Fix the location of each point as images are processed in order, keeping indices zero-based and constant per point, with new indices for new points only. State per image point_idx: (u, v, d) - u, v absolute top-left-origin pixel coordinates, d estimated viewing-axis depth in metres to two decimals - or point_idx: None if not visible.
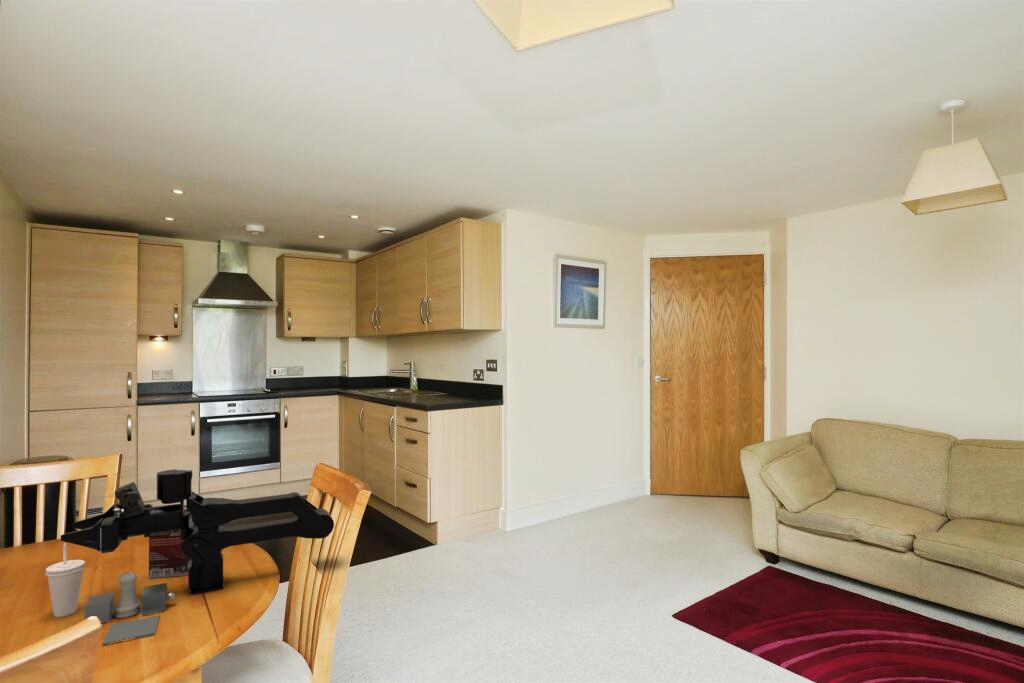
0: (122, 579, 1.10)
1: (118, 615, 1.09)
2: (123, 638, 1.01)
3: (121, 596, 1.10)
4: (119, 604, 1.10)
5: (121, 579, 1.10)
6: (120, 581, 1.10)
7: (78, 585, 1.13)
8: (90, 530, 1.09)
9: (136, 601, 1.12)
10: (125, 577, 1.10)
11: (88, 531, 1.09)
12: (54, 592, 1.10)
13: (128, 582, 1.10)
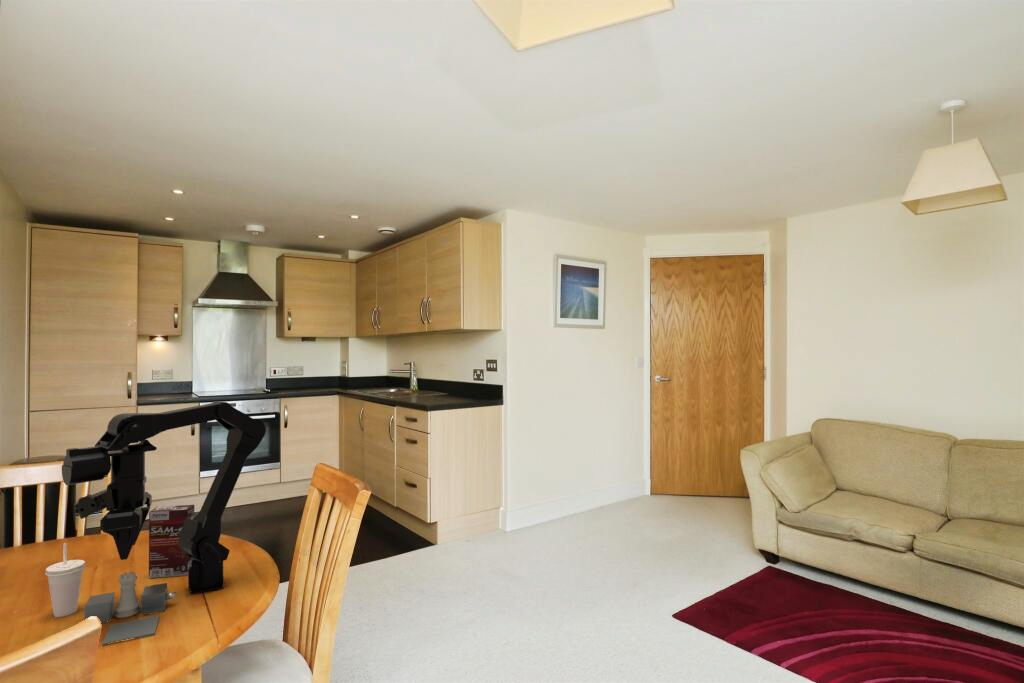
0: (122, 579, 1.10)
1: (118, 615, 1.09)
2: (123, 638, 1.01)
3: (121, 596, 1.10)
4: (119, 604, 1.10)
5: (121, 579, 1.10)
6: (120, 581, 1.10)
7: (78, 585, 1.13)
8: (115, 536, 1.05)
9: (136, 601, 1.12)
10: (125, 577, 1.10)
11: (116, 538, 1.06)
12: (54, 592, 1.10)
13: (128, 582, 1.10)
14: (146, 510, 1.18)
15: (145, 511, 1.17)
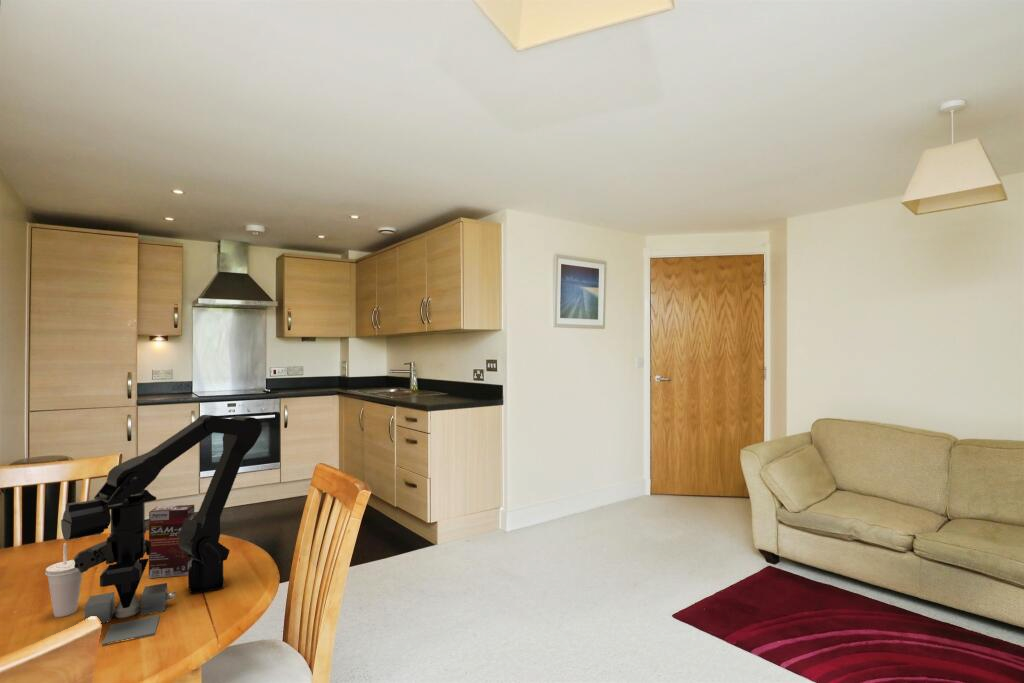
0: None
1: (118, 615, 1.09)
2: (123, 638, 1.01)
3: None
4: (119, 604, 1.10)
5: None
6: None
7: (78, 585, 1.13)
8: (117, 586, 1.08)
9: (136, 601, 1.12)
10: None
11: (119, 587, 1.08)
12: (54, 592, 1.10)
13: None
14: (144, 563, 1.15)
15: (143, 564, 1.15)
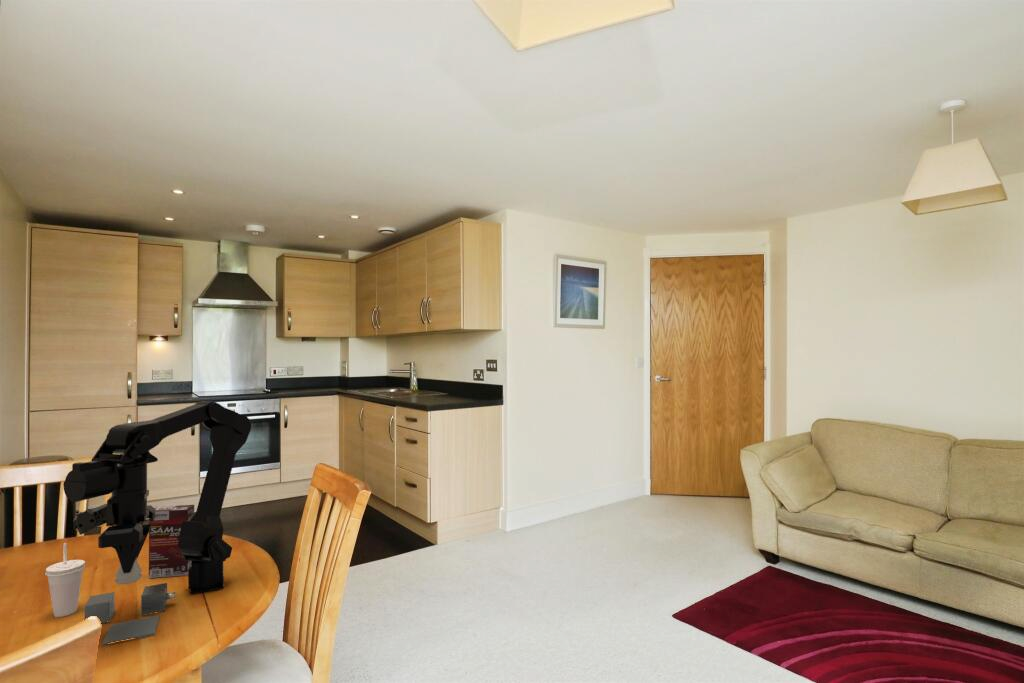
0: None
1: (118, 581, 1.05)
2: (123, 638, 1.01)
3: None
4: (119, 570, 1.05)
5: None
6: None
7: (78, 585, 1.13)
8: (118, 549, 1.03)
9: (138, 568, 1.07)
10: None
11: (119, 551, 1.03)
12: (54, 592, 1.10)
13: None
14: (147, 528, 1.10)
15: (145, 529, 1.10)
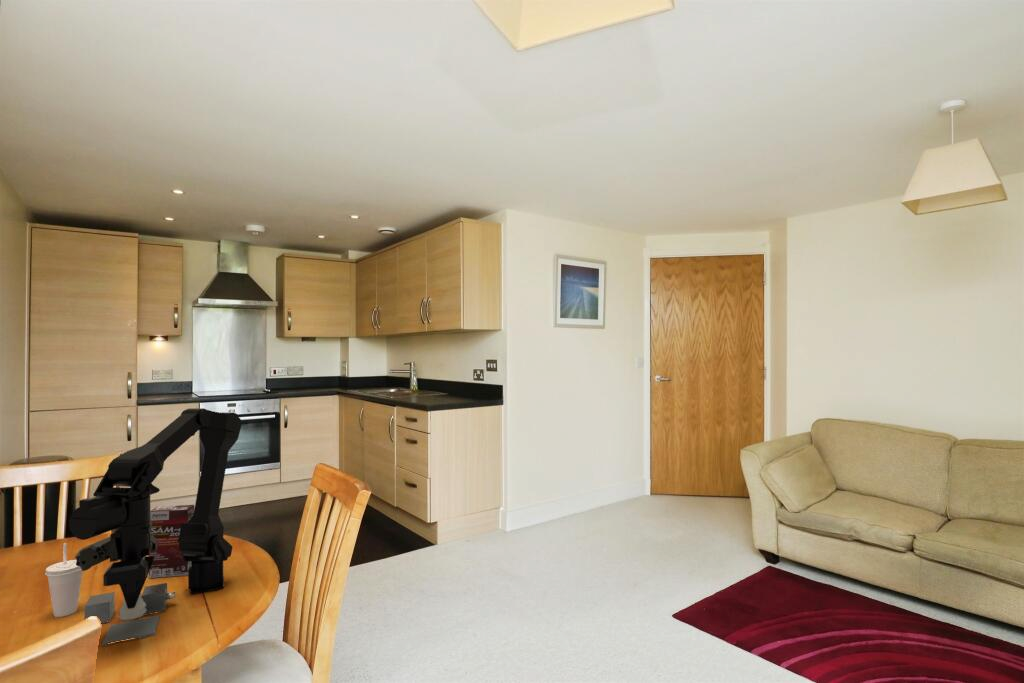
0: None
1: (122, 617, 1.02)
2: (123, 638, 1.01)
3: None
4: (123, 605, 1.03)
5: None
6: None
7: (78, 585, 1.13)
8: (122, 585, 1.01)
9: (142, 602, 1.05)
10: None
11: (123, 587, 1.01)
12: (54, 592, 1.10)
13: None
14: (150, 561, 1.08)
15: (149, 562, 1.08)
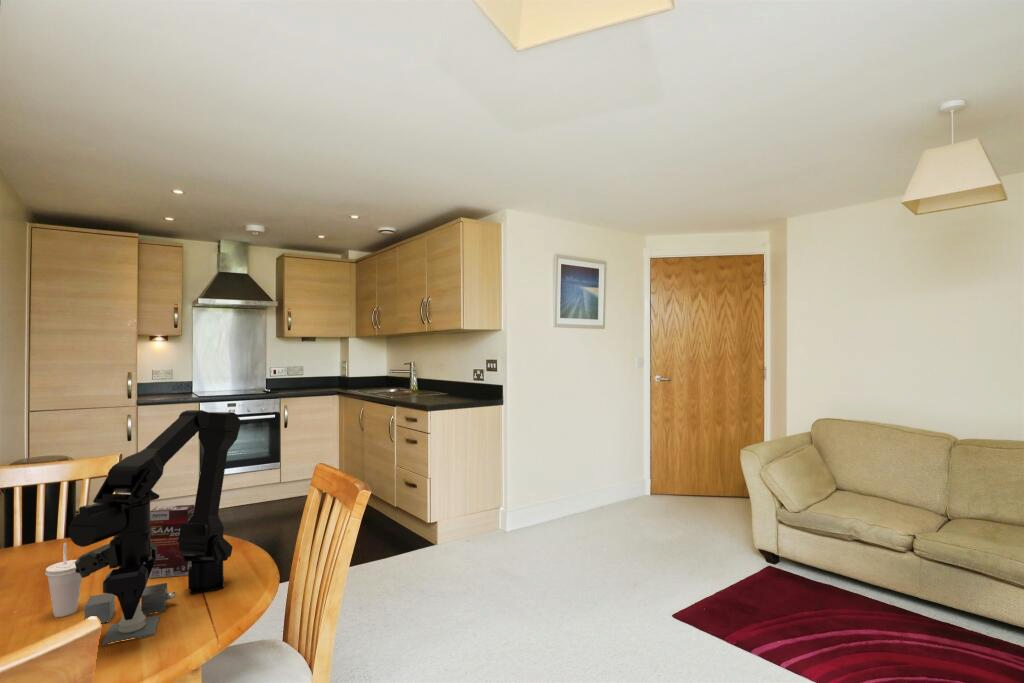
0: None
1: (122, 630, 1.02)
2: (123, 638, 1.01)
3: None
4: (123, 618, 1.03)
5: None
6: None
7: (78, 585, 1.13)
8: (119, 596, 0.99)
9: (141, 615, 1.05)
10: None
11: (121, 598, 0.99)
12: (54, 592, 1.10)
13: None
14: (151, 564, 1.10)
15: (150, 565, 1.09)
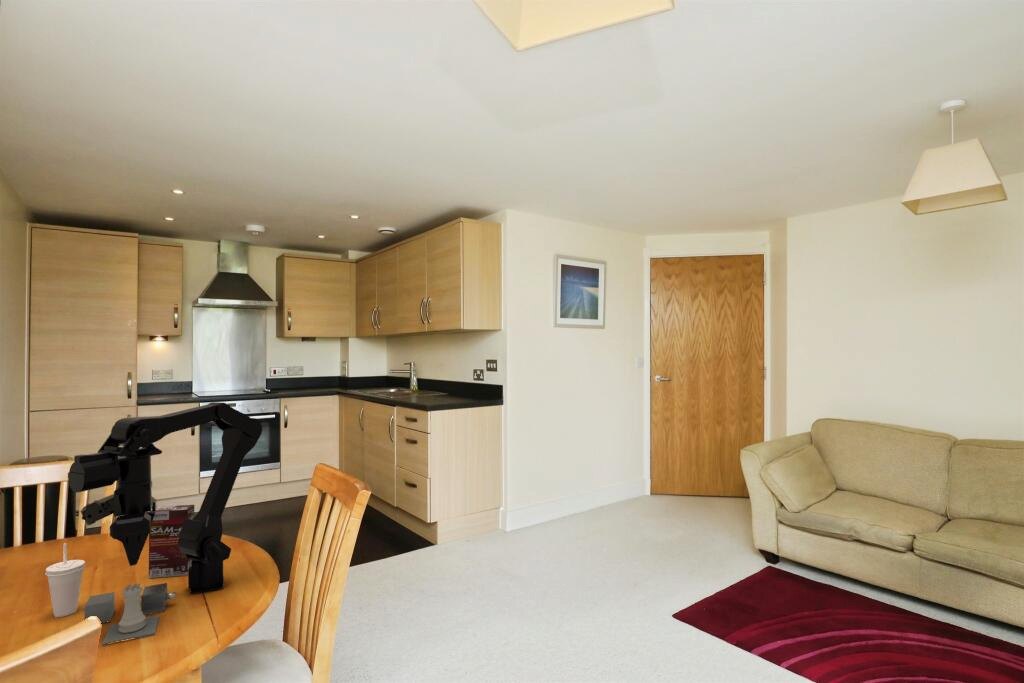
0: (126, 591, 1.03)
1: (122, 630, 1.02)
2: (123, 638, 1.01)
3: (125, 610, 1.03)
4: (123, 618, 1.03)
5: (125, 591, 1.03)
6: (124, 594, 1.03)
7: (78, 585, 1.13)
8: (124, 542, 1.04)
9: (141, 615, 1.05)
10: (129, 589, 1.03)
11: (126, 544, 1.05)
12: (54, 592, 1.10)
13: (132, 595, 1.03)
14: (152, 514, 1.16)
15: (151, 516, 1.16)
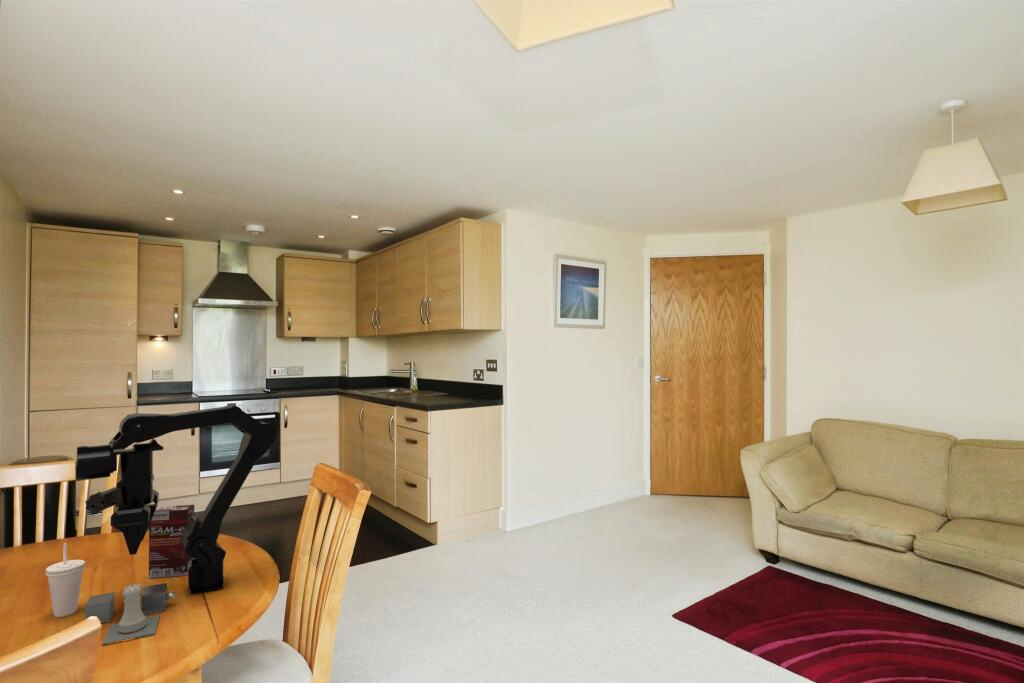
0: (126, 591, 1.03)
1: (122, 630, 1.02)
2: (123, 638, 1.01)
3: (125, 610, 1.03)
4: (123, 618, 1.03)
5: (125, 591, 1.03)
6: (124, 594, 1.03)
7: (78, 585, 1.13)
8: (124, 532, 1.09)
9: (141, 615, 1.05)
10: (129, 589, 1.03)
11: (126, 534, 1.10)
12: (54, 592, 1.10)
13: (132, 595, 1.03)
14: (154, 507, 1.21)
15: (153, 508, 1.21)
